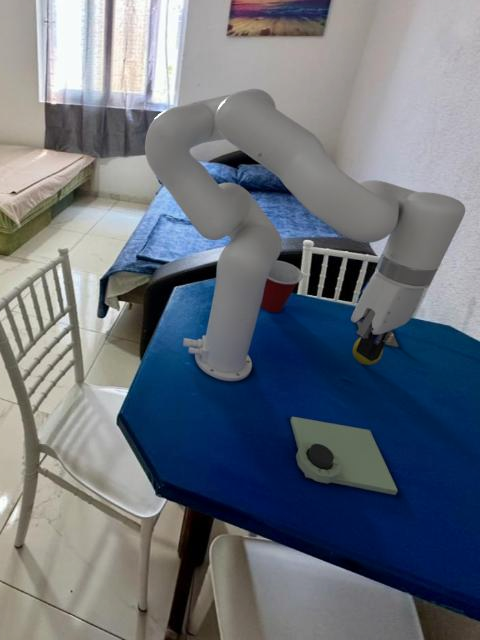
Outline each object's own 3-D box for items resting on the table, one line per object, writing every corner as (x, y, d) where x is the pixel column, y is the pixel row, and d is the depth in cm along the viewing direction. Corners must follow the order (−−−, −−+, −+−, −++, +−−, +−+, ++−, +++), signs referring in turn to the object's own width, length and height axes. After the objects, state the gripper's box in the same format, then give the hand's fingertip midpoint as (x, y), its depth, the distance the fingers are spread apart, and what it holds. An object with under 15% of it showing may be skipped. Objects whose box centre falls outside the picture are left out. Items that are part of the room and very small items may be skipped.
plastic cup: (254, 315, 110) (264, 278, 104) (247, 294, 119) (256, 258, 113) (296, 320, 108) (309, 282, 102) (286, 298, 118) (297, 262, 112)
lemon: (379, 373, 92) (392, 346, 88) (352, 369, 92) (364, 342, 89) (369, 357, 96) (382, 330, 93) (344, 353, 97) (356, 327, 93)
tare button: (310, 467, 68) (313, 460, 67) (305, 448, 71) (308, 441, 70) (333, 471, 67) (336, 464, 67) (327, 452, 71) (330, 445, 70)
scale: (299, 482, 68) (304, 471, 67) (283, 419, 80) (287, 408, 78) (398, 502, 66) (406, 491, 64) (367, 434, 77) (373, 423, 76)
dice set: (391, 342, 101) (394, 336, 100) (368, 337, 103) (371, 331, 102) (386, 330, 106) (389, 324, 105) (364, 326, 107) (367, 320, 106)
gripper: (408, 251, 72) (372, 332, 80) (353, 267, 66) (320, 353, 74) (456, 270, 66) (411, 356, 74) (401, 290, 60) (359, 381, 69)
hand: (366, 355), depth 74 cm, fingers closed
